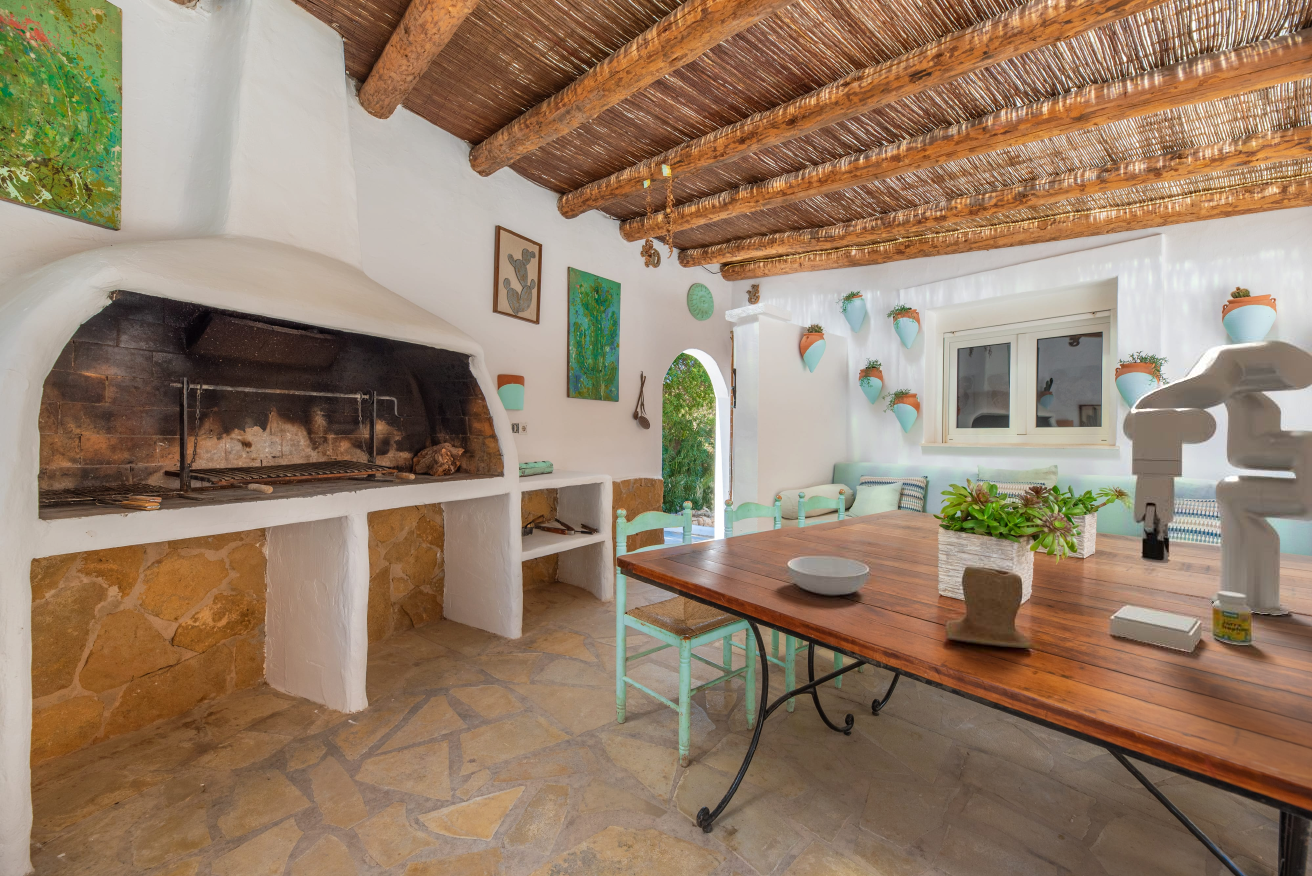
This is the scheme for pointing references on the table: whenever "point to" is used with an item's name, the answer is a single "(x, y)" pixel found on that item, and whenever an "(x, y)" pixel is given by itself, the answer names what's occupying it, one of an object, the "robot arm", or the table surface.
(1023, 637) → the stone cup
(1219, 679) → the table surface
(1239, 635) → the supplement bottle
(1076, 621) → the table surface
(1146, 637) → the plinth
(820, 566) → the serving bowl
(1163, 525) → the rook chess piece
